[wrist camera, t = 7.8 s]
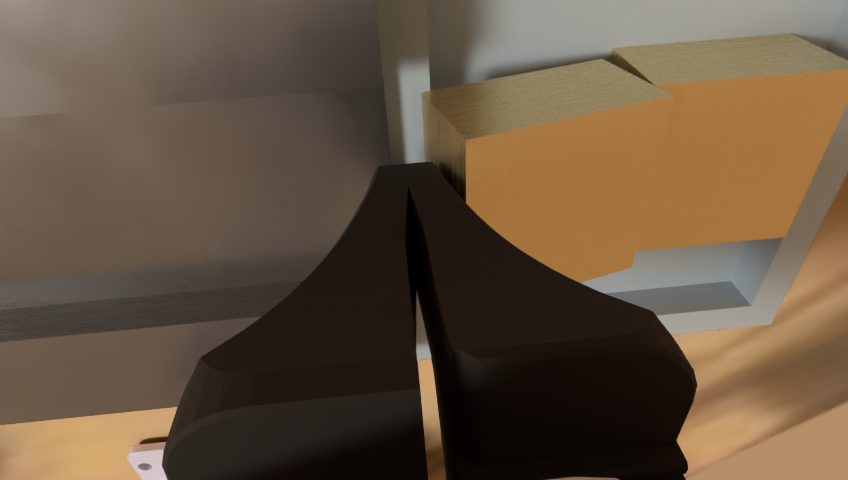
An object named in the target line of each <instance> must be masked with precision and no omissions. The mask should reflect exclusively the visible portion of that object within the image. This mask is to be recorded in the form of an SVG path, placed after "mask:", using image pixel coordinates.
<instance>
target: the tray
mask: <svg viewBox="0 0 848 480" xmlns="http://www.w3.org/2000/svg"><path fill="white" fill-rule="evenodd" d="M376 9H377V20H378V30H379V40H380V50H381V60H382V70H383V80H384V91H385V101H386V111H387V121H388V131H389V141H390V151H391V161H392V165H396V164H407V163H419V162H425V151H424V133H423V116H422V99H421V92H426V91H432V90H437V89H442V88H448V87H453V86H458V85H464V84H469V83H475V82H480V81H485V80H491V79H496V78H501V77H507V76H512V75H518V74H523V73H528V72H534V71H539V70H544V69H550V68H555V67H561V66H566V65H571V64H577V63H582V62H588V61H593V60H598V59H604V60H605V61H607V62H609V61H610V55H611V48H614V47H627V46H639V45H651V44H664V43H676V42H689V41H701V40H713V39H726V38H738V37H751V36H763V35H775V34H788V33H790V34H792V35H795V36H797V37H799V38H801V39H803V40H805V41H807V42H810V43H812V44H814V45H816V46H818V47H820V48H822V49H825V50H827V51H829V52H831V53H833V54H835V55H837V56H839V57H842V58H844V59H846V60H848V0H376ZM847 174H848V103H847V105H846V108H845V110H844V112H843V114H842V116H841V118H840V120H839V123H838V125H837V127H836V129H835V131H834V133H833V136H832V138H831V140H830V142H829V144H828V146H827V148H826V151H825V153H824V155H823V157H822V159H821V161H820V164H819V166H818V168H817V170H816V172H815V174H814V176H813V179H812V181H811V183H810V185H809V187H808V189H807V192H806V194H805V196H804V198H803V200H802V202H801V204H800V207H799V209H798V211H797V213H796V215H795V217H794V220H793V222H792V224H791V226H790V228H789V230H788V232H787V235H786V237H782V238H771V239H761V240H750V241H740V242H730V243H719V244H709V245H698V246H688V247H678V248H667V249H657V250H646V251H636V253H635V257H634V261H633V265H632V268H628V269H625V270H622V271H618V272H615V273H612V274H608V275H605V276H601V277H598V278H595V279H591V280H588V281H585V282H581V284H584V285H586V286H588V287H590V288H592V289H595V290H597V291H599V292H602V293H604V294H607V295H610V296H612V297H615V298H618V299H621V300H623V301H626V302H629V303H632V304H634V305H637V306H640V307H643V308H646V309H648V310H651V311H653V312H654V313H655V314H656V316H657V317H658V319H659V320H660V321H661V323H662V324H663V325H664V326H665V328H666V329H667V330H668V331H669V333H670V334H671V335H673V334H683V333H692V332H702V331H712V330H722V329H732V328H742V327H751V326H761V325H771V323H772V321H773V319H774V317H775V315H776V313H777V311H778V309H779V307H780V305H781V303H782V301H783V299H784V297H785V295H786V293H787V292H788V290H789V288H790V286H791V284H792V282H793V280H794V278H795V276H796V274H797V272H798V270H799V268H800V266H801V264H802V262H803V260H804V258H805V256H806V254H807V252H808V250H809V248H810V246H811V244H812V242H813V240H814V238H815V237H816V235H817V233H818V231H819V229H820V227H821V225H822V223H823V221H824V219H825V217H826V215H827V213H828V211H829V209H830V207H831V205H832V203H833V201H834V199H835V197H836V195H837V193H838V191H839V189H840V187H841V185H842V183H843V182H844V180H845V178H846V176H847ZM416 353H417V361H418V360H427V359H431V353H430V349H429V344H428V340H427V336H426V331H425V327H424V322H423V318H422V313H421V309H420V304H419V300H418V295H417V314H416Z"/></svg>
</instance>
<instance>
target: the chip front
mask: <svg viewBox="0 0 848 480" xmlns="http://www.w3.org/2000/svg"><path fill="white" fill-rule="evenodd" d="M421 99H422V116H423V133H424V151H425V162H430V161H431V162H432V163H434V164H435V165H436V166H437V168H438V169H439V171H440V172H441V174H442V175H443V176H444V178H445V179H446V180H447V182H448V183H449V184H450V185H451V187H452V188H453V189H454V190H455V191H456V192H457V194H458V195H459V196H460V197H461V198H462V199H463V200H464V201H465V202H466V203H467V204H468V206H469V207H470V208H471V209H472V210H473V211H474V212H475V213H476V214H477V215H478V216H479V217H480V218H481V219H483V220H484V221H485V222H486V223H487V224H488V225H489V226H490V227H491V228H492V229H494V230H495V231H496V232H497V233H498V234H500V235H501V236H502V237H503V238H505V239H506V240H507V241H509V242H510V243H512V244H513V245H514V246H516V247H517V248H518V249H520V250H521V251H523V252H525V253H526V254H528V255H529V256H531V257H532V258H534V259H536V260H538V261H539V262H541V263H543V264H544V265H546V266H548V267H550V268H551V269H553V270H555V271H557V272H559V273H561V274H563V275H565V276H567V277H569V278H571V279H573V280H575V281H577V282H579V283H581V282H585V281H588V280H591V279H595V278H598V277H601V276H605V275H608V274H612V273H615V272H618V271H622V270H625V269H628V268H632V265H633V261H634V257H635V253H636V249H637V245H638V241H639V237H640V233H641V229H642V225H643V221H644V217H645V213H646V209H647V204H648V200H649V196H650V192H651V188H652V184H653V180H654V176H655V172H656V168H657V164H658V160H659V156H660V152H661V148H662V144H663V140H664V136H665V131H666V127H667V123H668V119H669V115H670V111H671V107H672V103H673V99H674V95H672V94H670V93H668V92H666V91H664V90H662V89H660V88H658V87H656V86H654V85H652V84H650V83H648V82H646V81H644V80H642V79H641V78H639V77H637V76H635V75H633V74H631V73H629V72H627V71H625V70H623V69H621V68H619V67H617V66H615V65H613V64H611V63H609V62H607V61H605V60H604V59H598V60H593V61H588V62H582V63H577V64H571V65H566V66H561V67H555V68H550V69H544V70H539V71H534V72H528V73H523V74H518V75H512V76H507V77H501V78H496V79H491V80H485V81H480V82H475V83H469V84H464V85H458V86H453V87H448V88H442V89H437V90H432V91H426V92H421Z"/></svg>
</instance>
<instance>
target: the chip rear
mask: <svg viewBox="0 0 848 480" xmlns="http://www.w3.org/2000/svg"><path fill="white" fill-rule="evenodd" d="M609 63H611V64H613V65H615V66H617V67H619V68H621V69H623V70H625V71H627V72H629V73H631V74H633V75H635V76H637V77H639V78H641V79H642V80H644V81H646V82H648V83H650V84H652V85H654V86H656V87H658V88H660V89H662V90H664V91H666V92H668V93H670V94H672V95H674V99H673V103H672V107H671V111H670V115H669V119H668V123H667V127H666V131H665V136H664V140H663V144H662V148H661V152H660V156H659V160H658V164H657V168H656V172H655V176H654V180H653V184H652V188H651V192H650V196H649V200H648V204H647V209H646V213H645V217H644V221H643V225H642V229H641V233H640V237H639V241H638V245H637V249H636V251H646V250H657V249H667V248H678V247H688V246H698V245H709V244H719V243H730V242H740V241H750V240H761V239H771V238H782V237H786V235H787V232H788V230H789V228H790V226H791V224H792V222H793V220H794V217H795V215H796V213H797V211H798V209H799V207H800V204H801V202H802V200H803V198H804V196H805V194H806V192H807V189H808V187H809V185H810V183H811V181H812V179H813V176H814V174H815V172H816V170H817V168H818V166H819V164H820V161H821V159H822V157H823V155H824V153H825V151H826V148H827V146H828V144H829V142H830V140H831V138H832V136H833V133H834V131H835V129H836V127H837V125H838V123H839V120H840V118H841V116H842V114H843V112H844V110H845V108H846V105H847V103H848V60H846V59H844V58H842V57H839V56H837V55H835V54H833V53H831V52H829V51H827V50H825V49H822V48H820V47H818V46H816V45H814V44H812V43H810V42H807V41H805V40H803V39H801V38H799V37H797V36H795V35H792V34H790V33H788V34H775V35H763V36H751V37H738V38H726V39H713V40H701V41H689V42H676V43H664V44H651V45H639V46H627V47H614V48H611V55H610V61H609Z"/></svg>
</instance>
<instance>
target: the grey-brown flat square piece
mask: <svg viewBox="0 0 848 480" xmlns="http://www.w3.org/2000/svg"><path fill="white" fill-rule="evenodd" d="M385 165H392V161H391V151H390V141H389V131H388V121H387V111H386V101H385V91H384V80H383V70H382V60H381V50H380V40H379V30H378V20H377V9H376V0H0V425H6V424H15V423H25V422H35V421H44V420H54V419H64V418H73V417H83V416H93V415H102V414H112V413H122V412H131V411H141V410H151V409H160V408H170V407H178V405H179V402H180V399H181V397H182V395H183V392H184V390H185V388H186V385H187V383H188V381H189V379H190V377H191V376H192V374H193V371H194V369H195V367H196V365H197V363H198V360H199V358H200V357H201V356H203V355H205V354H206V353H208V352H210V351H211V350H213V349H215V348H216V347H218V346H219V345H221V344H222V343H224V342H225V341H227V340H228V339H230V338H232V337H233V336H235V335H236V334H238V333H239V332H241V331H242V330H244V329H245V328H247V327H248V326H250V325H251V324H253V323H254V322H255V321H257V320H258V319H259V318H261V317H262V316H263V315H265V314H266V313H267V312H269V311H270V310H271V309H272V308H274V307H275V306H276V305H277V304H278V303H280V302H281V301H282V300H283V299H285V298H286V297H287V296H288V295H289V294H290V293H291V292H292V291H293V290H294V289H296V288H297V287H298V286H299V285H300V284H301V283H302V282H303V281H304V280H305V279H306V278H307V277H308V275H309V274H310V273H311V272H312V271H313V270H314V269H315V268H316V267H317V266H318V265H319V263H320V262H321V261H322V260H323V259H324V258H325V256H326V255H327V254H328V253H329V251H330V250H331V249H332V247H333V246H334V245H335V243H336V242H337V241H338V239H339V238H340V236H341V235H342V233H343V232H344V230H345V229H346V227H347V226H348V224H349V223H350V221H351V220H352V218H353V216H354V214H355V213H356V211H357V209H358V207H359V205H360V204H361V202H362V200H363V198H364V196H365V194H366V192H367V190H368V187H369V185H370V183H371V180H372V177H373V174H374V171H375V170H376V169H377V168H378V166H385Z"/></svg>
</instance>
